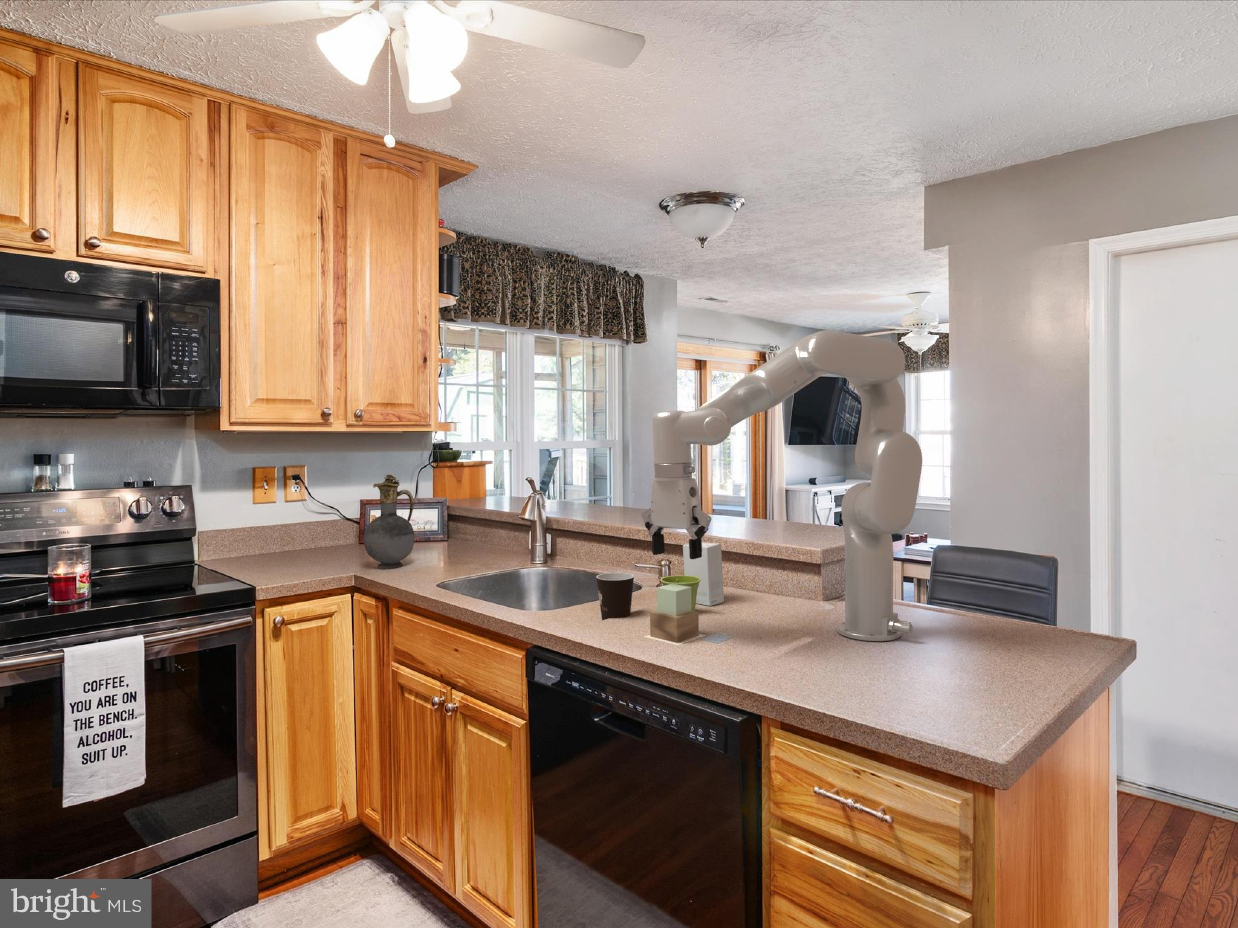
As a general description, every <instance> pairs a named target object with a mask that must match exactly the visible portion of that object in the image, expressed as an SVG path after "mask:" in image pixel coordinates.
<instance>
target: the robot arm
mask: <svg viewBox="0 0 1238 928" xmlns="http://www.w3.org/2000/svg"><path fill="white" fill-rule="evenodd" d="M905 365H906V357H905V353H904V352H903V349H902V348H901V347H900V346H899V345H898V344H897V343H895V342H893V341H891V340H889V339H885V338H882V337H881V338H880V337H874V336H868V335H863V334H862V335H861V334H856V333H849V332H843V331H839V330H830V329H829V330H827V329H825V330H819V331H816V332H814V333H811V334H809V335H808V334H807V335H806V336H804V337H802V338H801V339H798V340H797V341H796V342H794V343H793V344H791V345H790V346H789V347H787V348H786V349H784V350H782V351H781V352H779V353H778V354H777V355H775V356H773V357H772V358H771V359H769V360H768V361H766V362H765V363H763V364H762V365H759V367H757V368H754V370H752V371H751V372H750V373H748V374H747V375H745V376H744V377H742V378H741V379H740V380H738V381H737V382H736V383H734V384H732V385H731V386H729V387H728V388H726V389H725V390H723V391H721V392H720V393H718V394H717V395H716V396H714V397H712V398H711V399H709V400H708V401H707V402H705V403H704V404H702V405H701V406H698V407H697V408H696V409H695V410H692V411H684V410H665V411H658V412H655V413H654V414H653V415H652V416H653V417H652V418H651V420H652V421H651V422H652V443H653V444H652V445H653V446H652V447H653V463H654V465H653V467H654V479H652V485H651V494H650V508H648V509H646V510H645V511H644V512H642V513H641V515H640V516H641V519H642V520H643V523H644V526H645V529H646V530H647V531H648V535H649V536H651V546H652V547H651V548H652V551H651V552H652V555H653V556H659V555H661V554H664V553H665V552H666V550H665V535H664V533H662V532H663V531H664V529H675V530H676V529H677V530H686V532H687V534H688V535H689V536H690V538H689V540H688V544H689V555H690V559H697V558H701V557H702V542H703V541H702V538H704V537H705V534H706V533H707V532H708V531H709V527H710V525H711V522H712V517H711V516H710V515H709V514H708V513H706V512H704V511H703V510H702V505H701V504H702V503H701V496H700V491H699V487H698V483H697V479H696V477H695V478H693V474H695V473H696V467H695V466H692V465H693V464H692V445H702V446H709V447H710V446H717V445H719V444H721V443H723V442H725V440H726V439H727V438H728V437H729V436H730V434H731V430H732V428H733V427H735V425H738V424H739V423H740V422H742V421H745V420H746V419H748V418H750V417H752V416H754V415H757V414H759V413H762V412H765V411H769V410H771V409H772V408H774V407H776V406H779V405H780V404H781V403H783V402H784V401H787V400H788V399H789V398H790V397H791V396H793V395H794V394H796V393H798V392H799V391H800V390H801V389H803V388H804V387H806V386H808V385H809V384H810V383H812V382H813V381H815V380H816V379H818V378H819V377H822V376H824V375H827V374H829V375H834V376H839V377H840V376H841V377H844V378H845V379H846V380H847V381H848V382H849V383H850V384H851V385H852V386H853V387H854V389H855V390H856V391H857V393H858V396H859V397H860V402H861V413H860V422H859V423H860V424H859V427H858V428H859V429H858V435H857V441H856V445H855V452H854V461H855V465H856V466H857V468H858V470H860V471H861V472H862V473H863V474H865V475H868V476H871V479H870V480H871V481H870V482H868V481H867V482H866V481H865V482H863V481H862V482H859V483H856V484H854V485H853V486H851V487H849V488H848V489H847V491H846V492H845V494H844V495H843V496H842V501H841V508H840V509H841V519H842V525H843V532H844V621H842V622H840V623H839V624H837V633H839V634H840V635H842V636H844V637H846V638H849V639H853V640H859V641H865V642H887V641H893V640H896V639H899V638H900V637H901V636H902V633H904V634H910V635H911V634H912V632H913V624H912V622H911V621H906V620H900V618H899V613H898V612H895V611H894V544H893V542H894V541H893V536H892V535H895V534H899V533H900V532H902V531H903V530H905V529H906V528H907V527H908V526H909V525H910V523H911V522H912V519H913V517H914V514H915V511H916V505H917V498H918V493H919V487H920V481H921V475H922V468H923V453H922V449H921V447H920V444H919V443H918V440H917V439H915V438H914V437H913V436H912V435H911V434H909V433H908V432H904V425H905V418H906V417H905V416H906V415H905V414H906V398H905V394H904V391H903V389H902V386H901V384H900V382H899V380H898V379H897V378H899V376H901V374H902V373H903V371H904V368H905Z"/></svg>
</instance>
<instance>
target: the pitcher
mask: <svg viewBox="0 0 1238 928" xmlns="http://www.w3.org/2000/svg"><path fill="white" fill-rule="evenodd" d="M383 479H384V481H383V482H379V483H374V484H372V487H373V488H374V489H375V488H377V489H378V491H379V503H380V515H379V516H377V517H376V518H374V519H372V520H371V521H370V522H369V523H368V524H367V526H366V528H365V531H364V534H363V546H364V550H365V551H366V554H367V555H368V556H369V557H370V558H372V560H375V561H376V562H379V564H377V568H378V569H379V568H380V569H381V570H391V569H399V568H402V566H404V565H403V563H402V562H401V561H403V560H404V559H405V558H407V557H408V556H409V555H410V554H411V553H412V551H413V549H414V544H415V532H414V528H413V526H412V524H411V522H410V521H411V519H412V515H413V511H414V506H415V505H414V504H415V501H414V500H415V499H414V497H413V495H412V492H411V491H410V490H409V489H402V490H401V489H400V490H399V491H398V487H399V486H400V482H399V481H400V480H399V479H397V477H396V476H393V474H386V475H385V476H384V477H383ZM402 495H406V496H407V497H408V499H409V502H410V503H409V504H410V505H409V513H408V517H407V519H406V518H405V517H403V516H400V515H398V514H397V513H398V512H397V511H398V510H397V503H398V498H399V497H400V496H402Z"/></svg>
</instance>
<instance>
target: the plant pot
mask: <svg viewBox="0 0 1238 928" xmlns="http://www.w3.org/2000/svg"><path fill="white" fill-rule="evenodd" d="M700 581H701V579H700V578H699V577H695V576H688V575H683V574H682V575H679V574H678V575H677V574H676V575H669V576H663V577H661V578H660V583H662V586H666V585H669V584H677V585H682V586H688V587H691V600H692V610H695V611H696V606H697V603H696V597H697V589H698V587H699V582H700Z"/></svg>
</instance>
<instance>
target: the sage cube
mask: <svg viewBox="0 0 1238 928" xmlns="http://www.w3.org/2000/svg"><path fill="white" fill-rule="evenodd" d="M656 610H657V612H659V613H664V614H668V615H673V616H678V615H682V614H685V613H688V612H691V611H692V600H691V587H688V586H682V585H677V584H669V585H666V586H663V585H662V586H659V587H656Z"/></svg>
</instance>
